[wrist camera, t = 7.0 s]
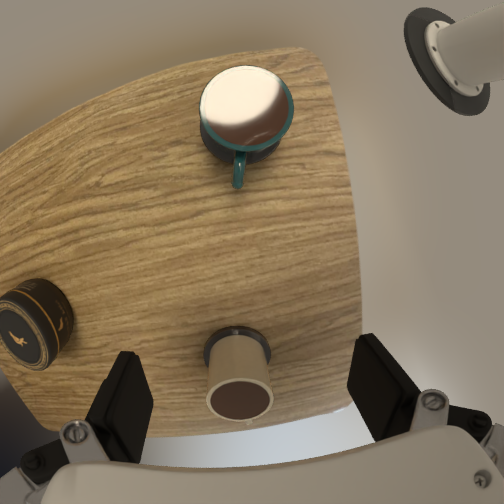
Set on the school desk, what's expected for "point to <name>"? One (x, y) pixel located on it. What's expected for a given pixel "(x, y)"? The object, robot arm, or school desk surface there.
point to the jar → (35, 323)
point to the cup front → (245, 113)
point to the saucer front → (229, 159)
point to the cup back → (238, 379)
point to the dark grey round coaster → (236, 331)
